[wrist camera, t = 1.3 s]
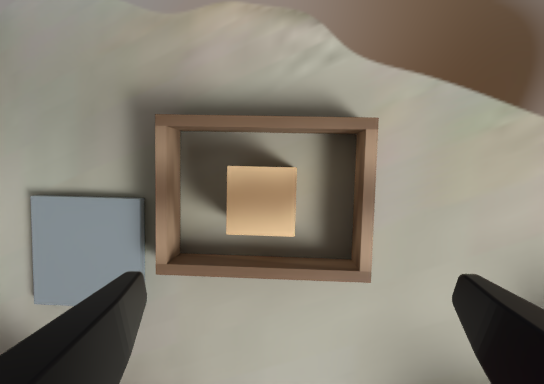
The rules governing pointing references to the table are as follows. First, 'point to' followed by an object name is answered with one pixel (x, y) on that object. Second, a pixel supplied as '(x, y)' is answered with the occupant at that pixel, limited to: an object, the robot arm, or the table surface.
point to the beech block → (261, 201)
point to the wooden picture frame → (263, 266)
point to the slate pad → (83, 244)
